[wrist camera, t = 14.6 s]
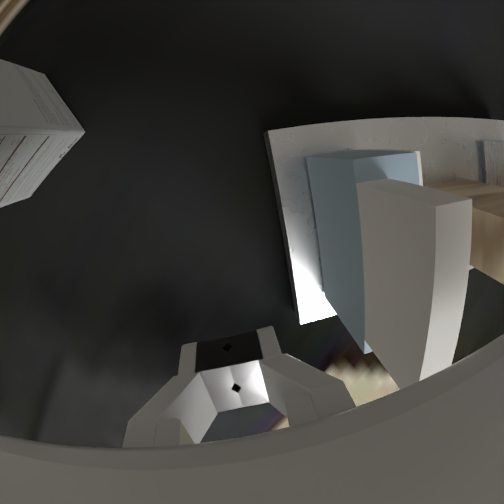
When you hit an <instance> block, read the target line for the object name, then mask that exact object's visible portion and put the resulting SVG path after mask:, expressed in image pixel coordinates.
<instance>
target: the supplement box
mask: <svg viewBox="0 0 504 504" xmlns="http://www.w3.org/2000/svg"><path fill="white" fill-rule="evenodd" d="M84 133H85V130H84V129H83V128H82V126H81V125H80V123H79V122H78V121H77V119H76V118H75V116H74V115H73V114H72V112H71V111H70V109H69V108H68V107H67V105H66V104H65V103H64V101H63V100H62V98H61V97H60V96H59V94H58V93H57V91H56V90H55V88H54V87H53V86H52V84H51V83H50V81H49V80H48V78H47V77H46V75H45V74H42V73H40V72H37V71H34V70H31V69H29V68H26V67H23V66H20V65H17V64H14V63H11V62H7V61H4V60H1V59H0V208H1V207H3V206H6V205H9V204H12V203H14V202H17V201H20V200H23V199H26V198H29V197H31V195H32V194H33V192H34V191H35V190H36V189H37V187H38V186H39V185H40V184H41V182H42V181H43V180H44V179H45V177H46V176H47V175H48V174H49V173H50V171H51V170H52V169H53V168H54V167H55V165H56V164H57V163H58V162H59V161H60V160H61V159H62V157H63V156H64V155H65V154H66V153H67V152H68V151H69V150H70V148H71V147H72V146H73V145H74V144H75V143H76V142H77V141H78V140H79V139H80V138H81V137H82V136H83V135H84Z"/></svg>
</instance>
